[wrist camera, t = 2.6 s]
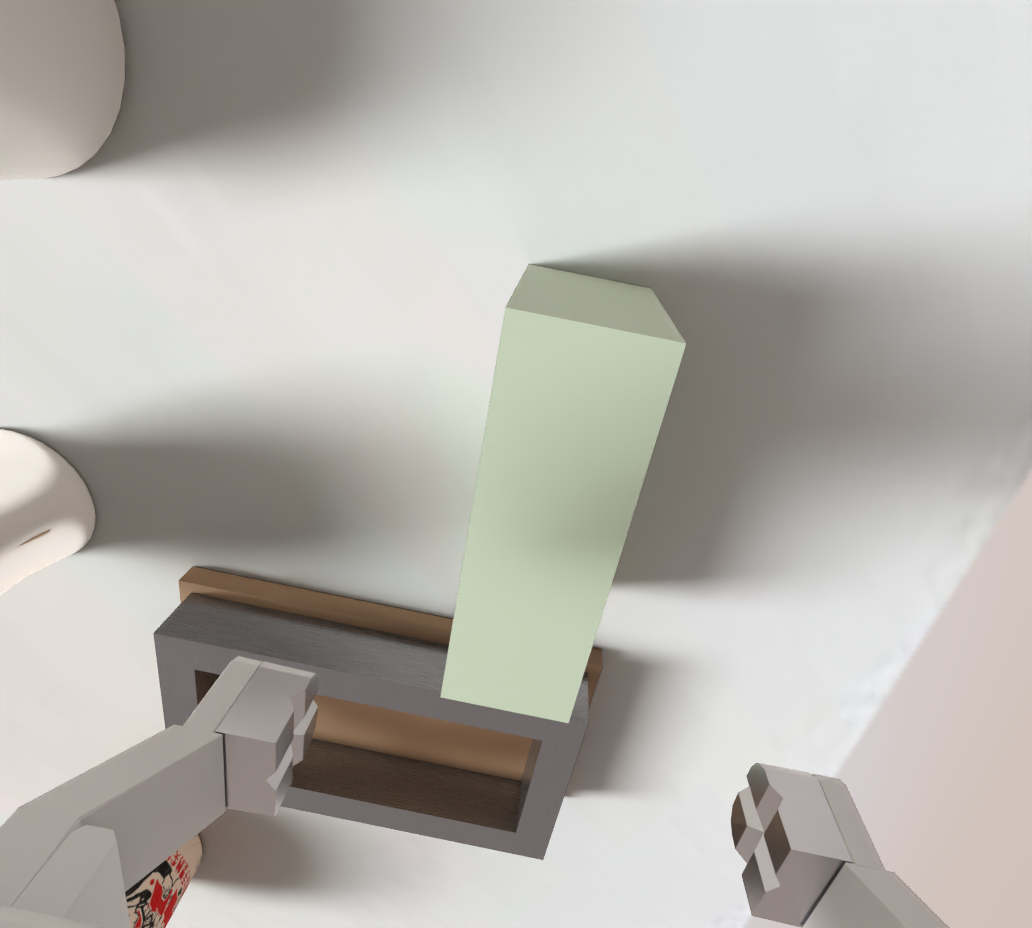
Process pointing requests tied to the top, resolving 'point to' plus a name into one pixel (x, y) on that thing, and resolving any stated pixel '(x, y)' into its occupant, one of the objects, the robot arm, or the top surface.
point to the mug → (57, 84)
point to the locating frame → (379, 713)
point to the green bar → (557, 485)
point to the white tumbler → (38, 508)
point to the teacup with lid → (163, 887)
